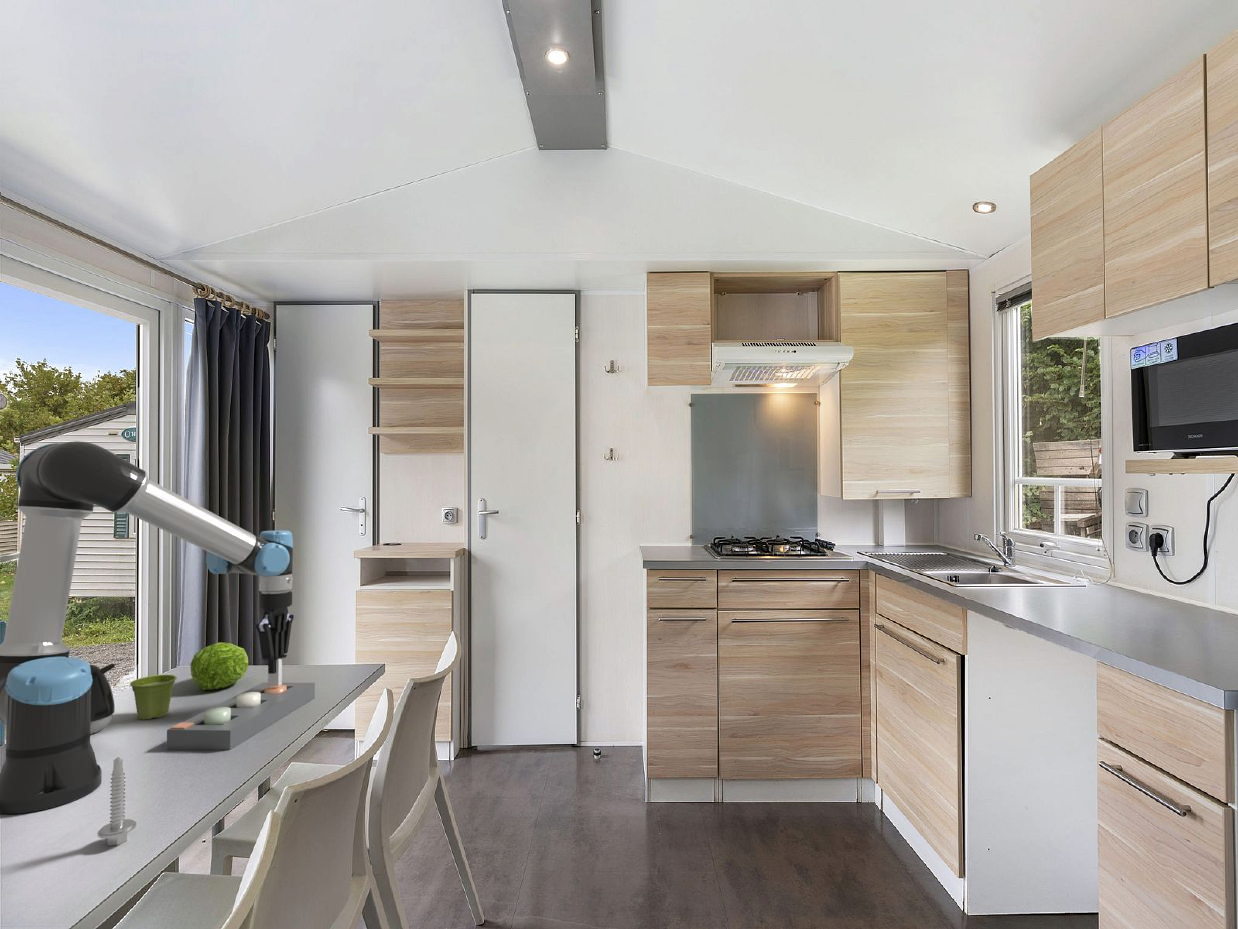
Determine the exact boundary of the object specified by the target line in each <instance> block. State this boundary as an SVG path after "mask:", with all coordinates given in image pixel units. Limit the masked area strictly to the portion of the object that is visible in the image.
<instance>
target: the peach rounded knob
mask: <svg viewBox="0 0 1238 929" xmlns="http://www.w3.org/2000/svg"><path fill="white" fill-rule="evenodd" d="M286 690H287V686H286V685H280V686H269V687H266V688H265V689H264V693H282V692H284V691H286Z"/></svg>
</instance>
